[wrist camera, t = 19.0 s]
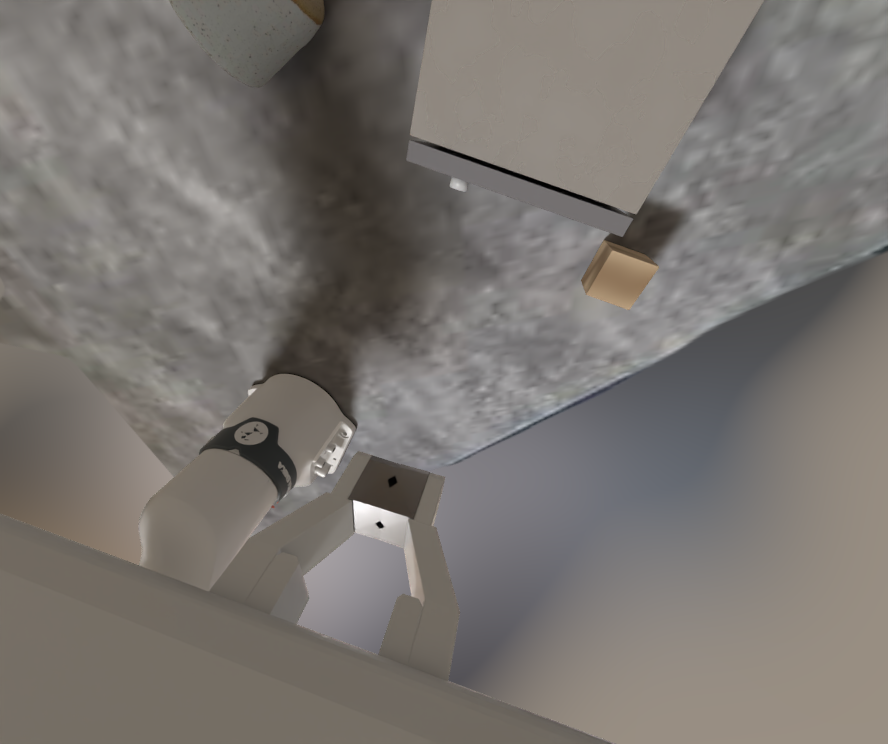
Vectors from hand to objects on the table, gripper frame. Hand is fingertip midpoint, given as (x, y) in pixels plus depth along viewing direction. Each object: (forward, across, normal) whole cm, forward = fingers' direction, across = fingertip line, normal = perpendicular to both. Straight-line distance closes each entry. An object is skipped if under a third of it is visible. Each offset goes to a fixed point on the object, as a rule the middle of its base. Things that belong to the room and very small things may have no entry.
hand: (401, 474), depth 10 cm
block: (+27, -11, -2) cm, 29 cm away
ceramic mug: (+27, +22, -16) cm, 39 cm away
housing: (+27, -2, -15) cm, 31 cm away
